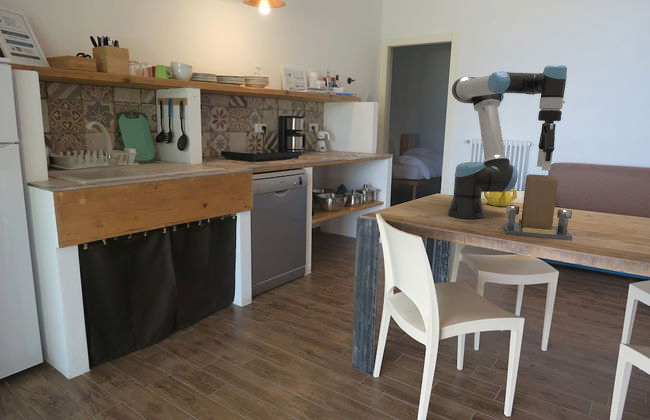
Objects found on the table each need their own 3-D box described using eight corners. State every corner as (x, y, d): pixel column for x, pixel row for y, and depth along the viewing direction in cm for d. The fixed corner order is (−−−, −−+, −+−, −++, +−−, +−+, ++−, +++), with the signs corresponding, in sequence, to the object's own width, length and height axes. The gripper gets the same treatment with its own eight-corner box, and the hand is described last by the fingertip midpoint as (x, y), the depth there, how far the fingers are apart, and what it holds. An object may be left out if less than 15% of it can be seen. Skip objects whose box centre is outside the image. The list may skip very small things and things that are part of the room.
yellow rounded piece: (478, 204, 230) (480, 184, 228) (494, 201, 238) (496, 182, 236) (503, 208, 219) (505, 188, 217) (519, 206, 227) (521, 186, 225)
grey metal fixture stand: (505, 234, 171) (508, 209, 169) (503, 225, 185) (505, 202, 183) (572, 240, 164) (575, 214, 162) (564, 230, 178) (567, 206, 176)
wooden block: (548, 226, 178) (554, 175, 174) (551, 232, 168) (558, 178, 164) (520, 224, 181) (526, 173, 177) (522, 229, 171) (528, 176, 167)
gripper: (568, 109, 153) (560, 172, 157) (556, 110, 176) (549, 165, 180) (544, 109, 155) (536, 171, 159) (534, 110, 178) (528, 164, 182)
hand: (543, 168), depth 170 cm, fingers open, 13 cm apart
